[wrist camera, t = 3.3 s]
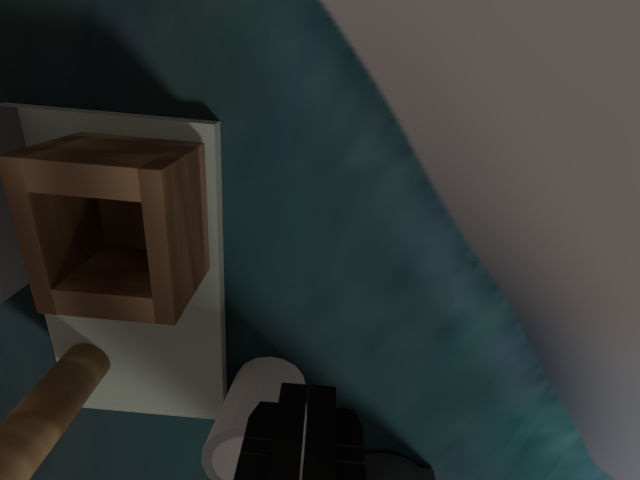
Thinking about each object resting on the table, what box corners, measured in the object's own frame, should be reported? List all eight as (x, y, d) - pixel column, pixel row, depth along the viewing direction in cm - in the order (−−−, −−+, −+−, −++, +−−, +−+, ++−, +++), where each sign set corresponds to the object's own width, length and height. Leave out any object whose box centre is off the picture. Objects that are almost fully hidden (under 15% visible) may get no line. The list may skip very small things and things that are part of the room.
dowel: (107, 345, 29) (-33, 519, 18) (113, 378, 30) (-14, 559, 19) (63, 341, 29) (-103, 513, 18) (71, 374, 30) (-79, 553, 19)
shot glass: (244, 337, 30) (219, 414, 23) (327, 368, 31) (325, 450, 24) (216, 398, 32) (187, 482, 26) (294, 425, 33) (284, 512, 27)
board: (220, 121, 23) (214, 124, 22) (227, 408, 33) (223, 420, 32) (6, 102, 23) (-10, 104, 22) (77, 394, 33) (67, 406, 32)
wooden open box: (204, 143, 22) (160, 170, 17) (209, 268, 25) (175, 325, 20) (79, 131, 22) (-5, 156, 17) (101, 258, 25) (37, 313, 20)
